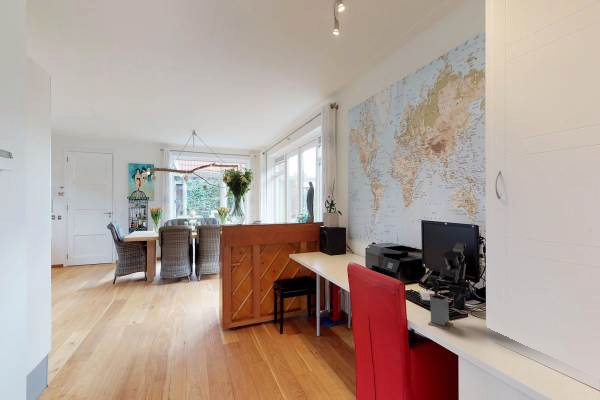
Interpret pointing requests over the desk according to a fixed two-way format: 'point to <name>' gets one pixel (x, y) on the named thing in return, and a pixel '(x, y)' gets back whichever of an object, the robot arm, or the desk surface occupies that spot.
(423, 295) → the calculator
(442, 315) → the socket sleeve
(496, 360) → the desk surface
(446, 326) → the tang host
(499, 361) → the desk surface
